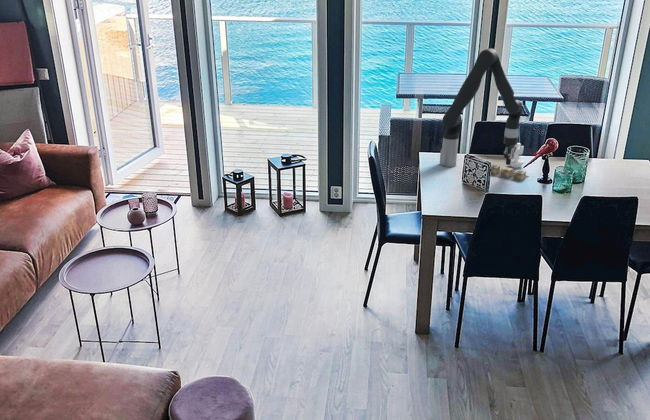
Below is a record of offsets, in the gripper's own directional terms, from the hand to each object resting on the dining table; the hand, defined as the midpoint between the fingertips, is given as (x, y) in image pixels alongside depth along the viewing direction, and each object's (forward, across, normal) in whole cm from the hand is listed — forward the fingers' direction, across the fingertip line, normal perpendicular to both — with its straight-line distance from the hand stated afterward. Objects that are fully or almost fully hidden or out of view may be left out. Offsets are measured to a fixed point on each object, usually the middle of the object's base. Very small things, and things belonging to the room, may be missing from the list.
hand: (508, 164), depth 356 cm
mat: (+7, 0, 0) cm, 7 cm away
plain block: (+7, 0, 0) cm, 7 cm away
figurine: (+7, -19, -3) cm, 21 cm away
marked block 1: (+6, 0, -8) cm, 11 cm away
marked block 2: (+7, 0, +8) cm, 10 cm away
